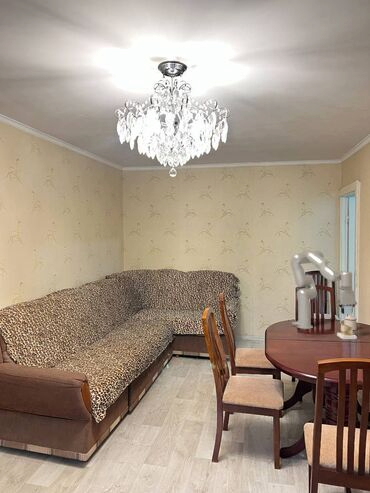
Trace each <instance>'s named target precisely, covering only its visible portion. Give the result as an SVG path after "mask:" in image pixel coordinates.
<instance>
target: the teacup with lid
mask: <svg viewBox="0 0 370 493" xmlns="http://www.w3.org/2000/svg"><path fill="white" fill-rule="evenodd" d="M342 321H344V322H343V323H344V324H343V323H342ZM339 323H340V326H341V325H350V326H351V327H353V330H355V331H356V330H357V317H355V316H353V315H347V316H344V318H343V319H341V320H340V321H339Z"/></svg>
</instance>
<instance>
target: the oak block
mask: <svg viewBox="0 0 370 493" xmlns="http://www.w3.org/2000/svg"><path fill="white" fill-rule="evenodd" d="M340 333H341V334H343V335H344V336H348V335H353V334H354V331H353V327H351V326H350V325H344V324H343V325H341V324H340Z"/></svg>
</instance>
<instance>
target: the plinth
mask: <svg viewBox="0 0 370 493" xmlns="http://www.w3.org/2000/svg"><path fill="white" fill-rule="evenodd" d="M336 336H337V337H339V338H340V339H341V340H357V339H358V336H357V335H356V334H354V333H353V335H348V336H344V335H343V334H341V332H336Z"/></svg>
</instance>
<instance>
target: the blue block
mask: <svg viewBox="0 0 370 493" xmlns="http://www.w3.org/2000/svg"><path fill="white" fill-rule="evenodd" d="M352 314H353V312H352V306H350V305H344V314H343V315H347V316H349V315H352ZM352 316H353V315H352Z"/></svg>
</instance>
